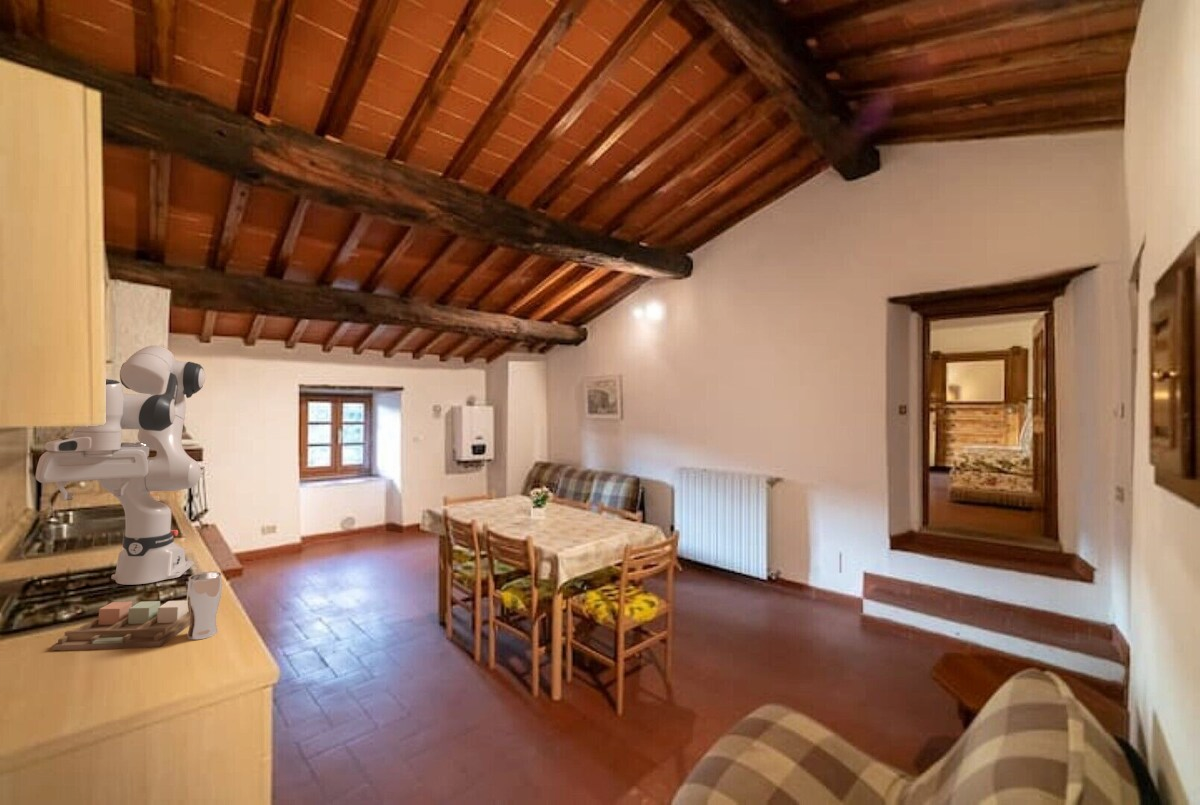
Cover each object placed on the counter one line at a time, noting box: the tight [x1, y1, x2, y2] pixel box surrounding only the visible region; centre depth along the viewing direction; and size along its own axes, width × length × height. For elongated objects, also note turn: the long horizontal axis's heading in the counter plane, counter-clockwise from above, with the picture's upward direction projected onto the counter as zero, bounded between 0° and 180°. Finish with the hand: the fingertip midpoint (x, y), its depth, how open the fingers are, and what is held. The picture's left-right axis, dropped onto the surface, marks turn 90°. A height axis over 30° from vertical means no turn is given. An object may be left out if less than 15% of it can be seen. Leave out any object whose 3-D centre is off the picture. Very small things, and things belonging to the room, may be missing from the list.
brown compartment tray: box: [50, 611, 190, 652], centre depth 130 cm, size 18×22×3 cm
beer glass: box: [186, 571, 223, 641], centre depth 131 cm, size 7×7×15 cm
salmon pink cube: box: [98, 601, 133, 625], centre depth 133 cm, size 4×4×4 cm
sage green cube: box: [128, 600, 161, 624], centre depth 134 cm, size 4×4×4 cm
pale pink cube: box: [157, 600, 188, 623], centre depth 136 cm, size 4×4×4 cm
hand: (93, 498), depth 129 cm, fingers open, 8 cm apart
